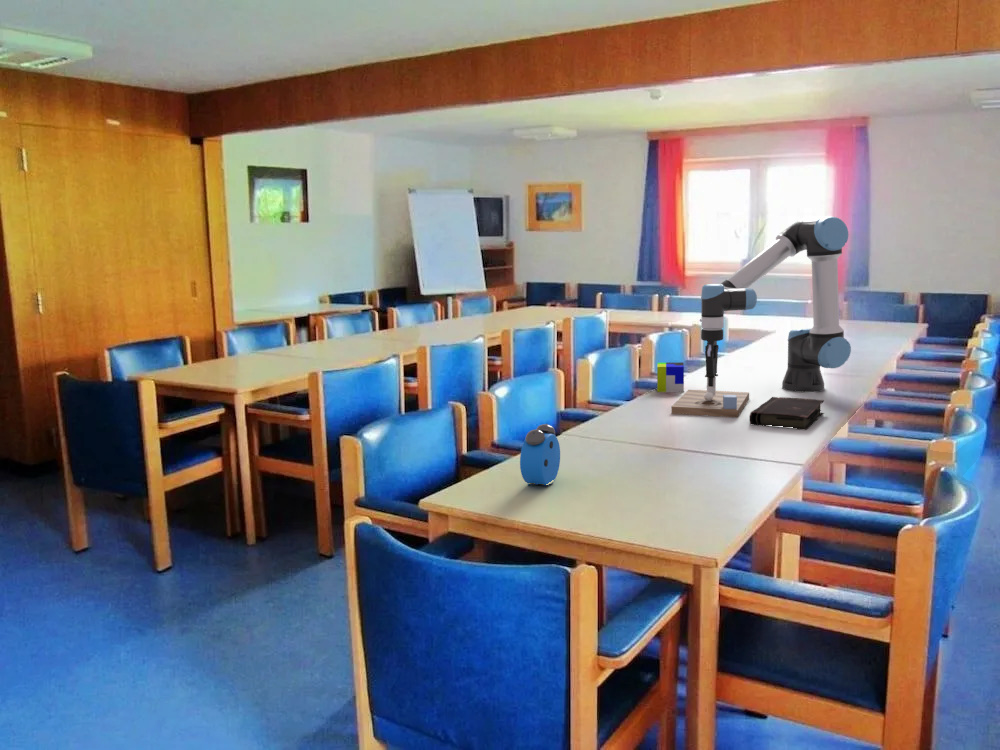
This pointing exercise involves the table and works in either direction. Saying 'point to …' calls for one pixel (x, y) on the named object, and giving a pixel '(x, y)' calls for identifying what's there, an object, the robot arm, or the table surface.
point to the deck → (708, 404)
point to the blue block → (729, 401)
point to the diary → (787, 412)
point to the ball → (708, 396)
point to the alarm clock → (540, 455)
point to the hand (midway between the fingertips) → (711, 394)
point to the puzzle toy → (670, 377)
